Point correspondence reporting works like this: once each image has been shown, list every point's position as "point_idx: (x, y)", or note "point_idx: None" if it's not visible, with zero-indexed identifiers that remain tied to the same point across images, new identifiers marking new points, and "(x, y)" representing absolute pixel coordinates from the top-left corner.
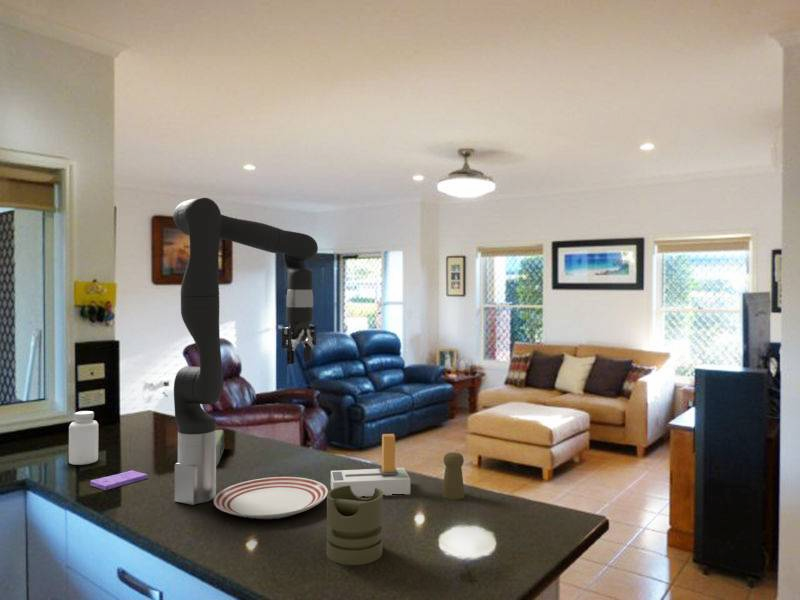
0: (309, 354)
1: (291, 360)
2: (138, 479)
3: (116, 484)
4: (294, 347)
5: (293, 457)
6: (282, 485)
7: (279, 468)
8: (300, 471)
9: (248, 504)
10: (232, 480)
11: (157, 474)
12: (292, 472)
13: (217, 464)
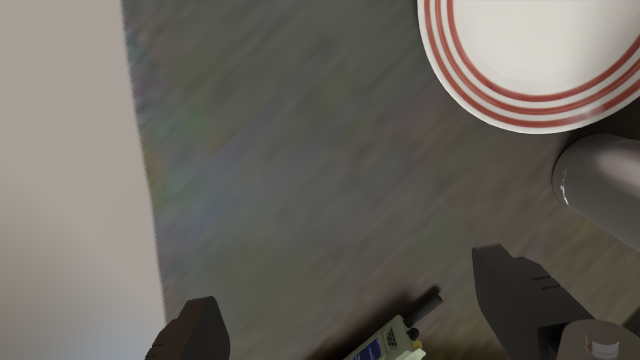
0: (195, 338)
1: (529, 265)
2: None
3: None
4: (589, 356)
5: (236, 234)
6: (457, 54)
7: (325, 193)
8: (310, 134)
9: (589, 30)
10: (458, 208)
11: None
12: (329, 144)
13: (397, 316)
